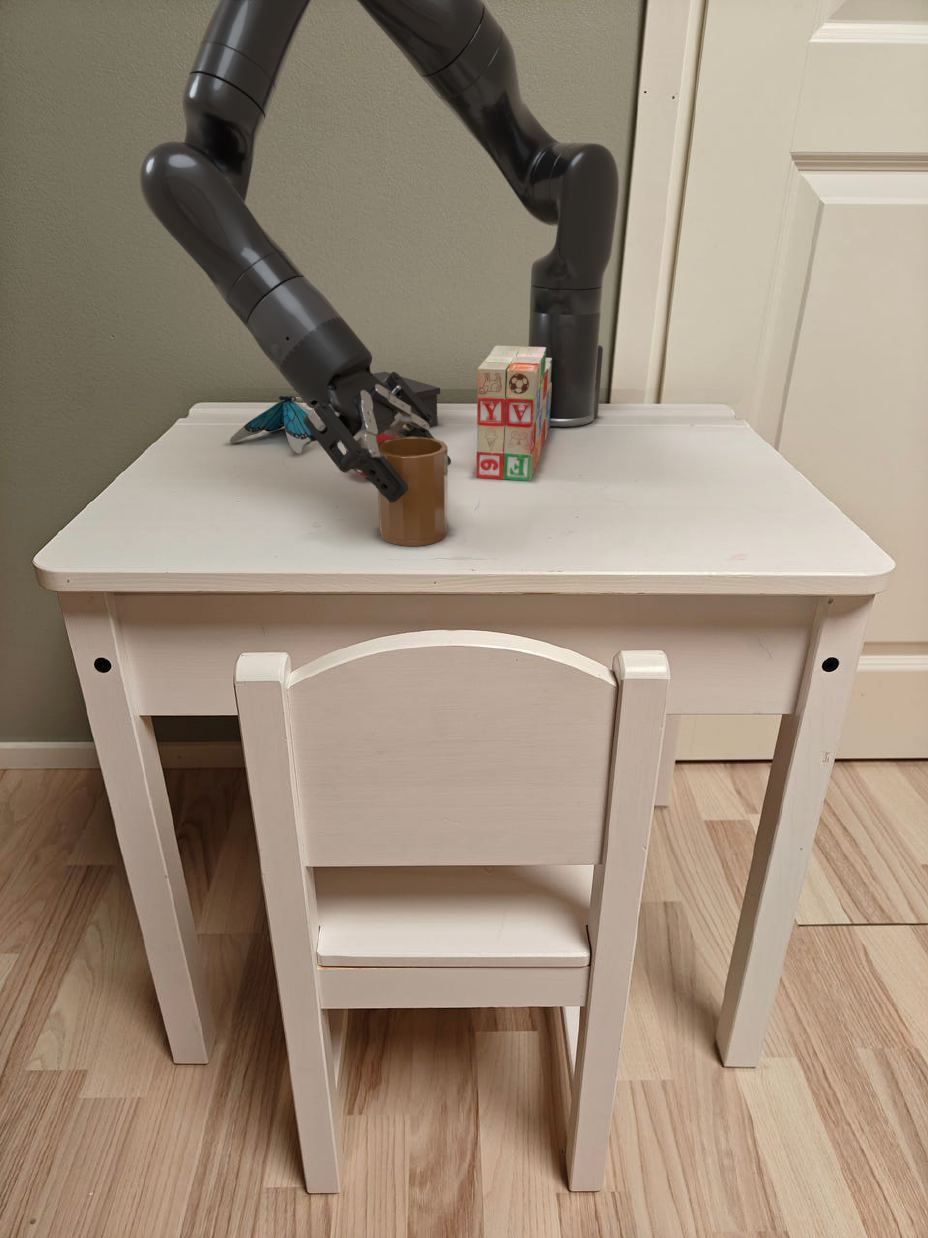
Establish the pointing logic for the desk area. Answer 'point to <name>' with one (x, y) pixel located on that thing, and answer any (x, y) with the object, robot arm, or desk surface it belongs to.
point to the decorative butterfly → (280, 423)
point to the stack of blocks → (512, 411)
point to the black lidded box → (419, 394)
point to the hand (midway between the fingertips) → (423, 482)
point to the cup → (416, 492)
